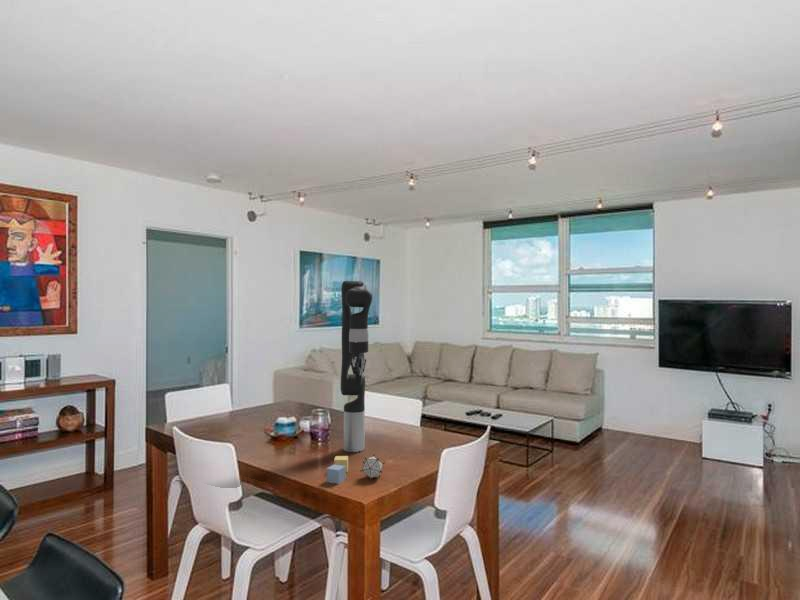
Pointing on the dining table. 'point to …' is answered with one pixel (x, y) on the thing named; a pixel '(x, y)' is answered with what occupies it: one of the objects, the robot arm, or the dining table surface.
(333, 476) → the slate block
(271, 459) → the dining table surface
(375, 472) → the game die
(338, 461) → the ochre block
